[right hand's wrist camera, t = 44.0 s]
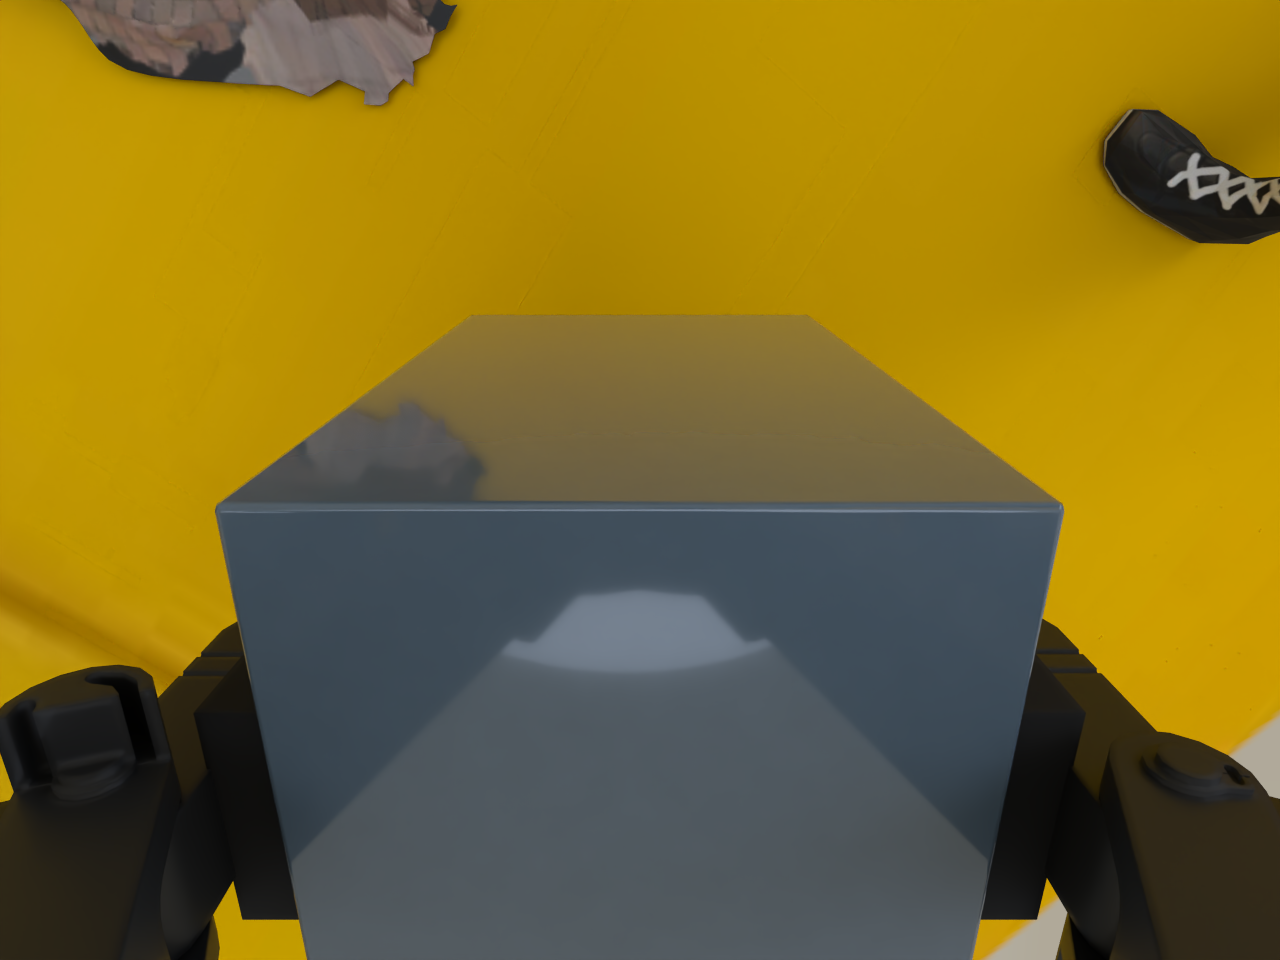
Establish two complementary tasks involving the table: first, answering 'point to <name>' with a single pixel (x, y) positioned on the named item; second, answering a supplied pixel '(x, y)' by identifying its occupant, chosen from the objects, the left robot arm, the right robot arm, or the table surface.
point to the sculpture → (268, 40)
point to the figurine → (1187, 182)
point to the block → (639, 649)
